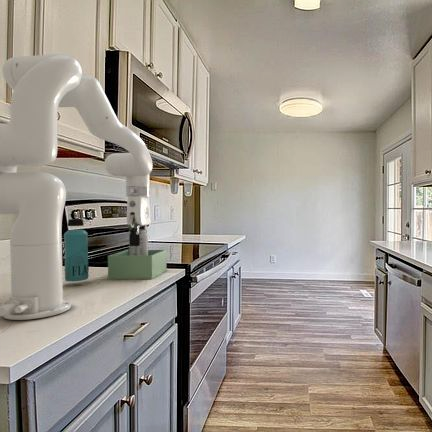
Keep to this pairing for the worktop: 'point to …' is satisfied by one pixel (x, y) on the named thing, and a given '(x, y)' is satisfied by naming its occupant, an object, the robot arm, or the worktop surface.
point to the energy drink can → (143, 247)
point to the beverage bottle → (76, 252)
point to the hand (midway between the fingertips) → (138, 244)
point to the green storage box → (136, 265)
